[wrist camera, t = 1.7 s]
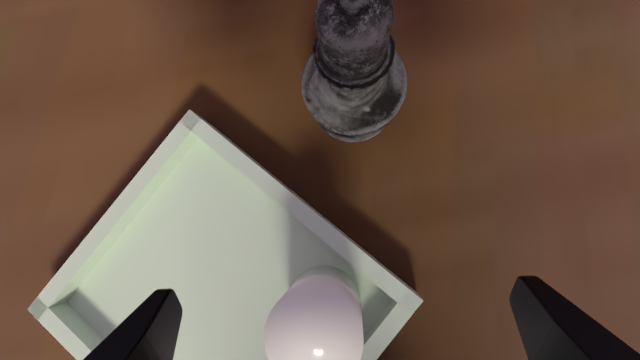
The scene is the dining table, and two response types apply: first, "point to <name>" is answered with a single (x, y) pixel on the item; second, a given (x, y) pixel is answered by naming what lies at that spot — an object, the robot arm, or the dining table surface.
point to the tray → (210, 255)
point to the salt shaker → (354, 69)
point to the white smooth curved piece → (316, 319)
